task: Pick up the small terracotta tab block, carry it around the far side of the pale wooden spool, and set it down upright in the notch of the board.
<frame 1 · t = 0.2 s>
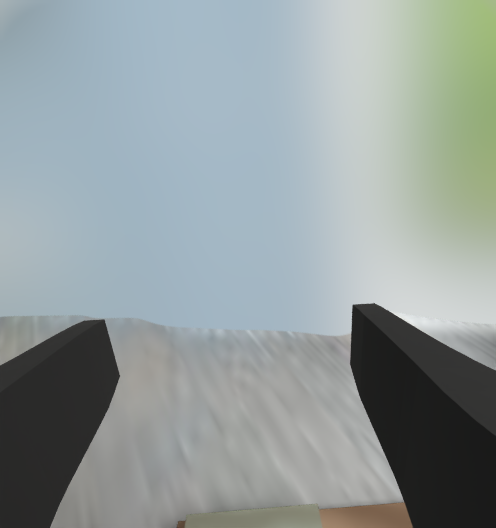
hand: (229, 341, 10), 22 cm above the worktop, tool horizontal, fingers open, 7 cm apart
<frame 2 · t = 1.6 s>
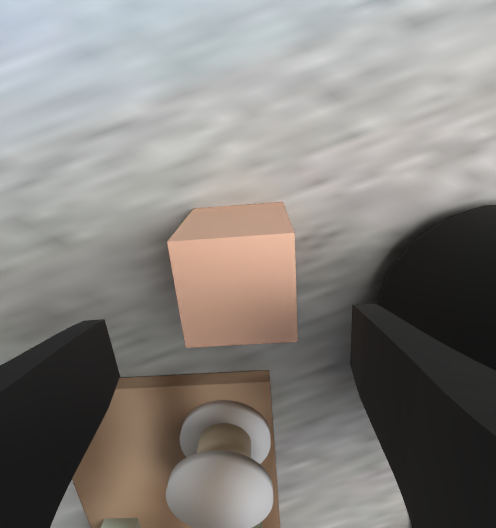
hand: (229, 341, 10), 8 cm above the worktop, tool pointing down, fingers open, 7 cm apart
coffee jar: (465, 293, 19), on the worktop
tab block: (241, 247, 18), on the worktop
notched board: (183, 495, 25), on the worktop
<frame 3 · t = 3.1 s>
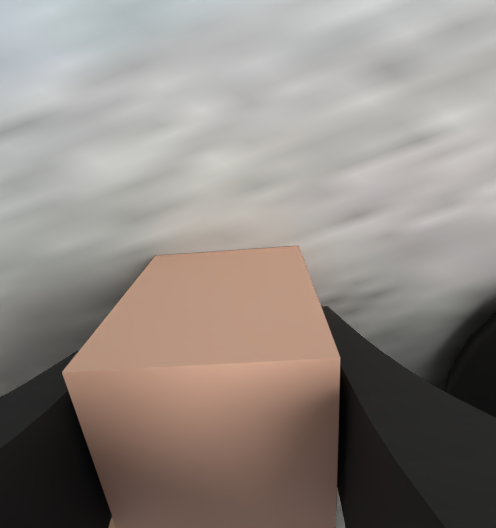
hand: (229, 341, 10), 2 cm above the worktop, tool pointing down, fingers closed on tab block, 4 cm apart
tab block: (233, 313, 11), on the worktop, touching gripper
when the fingers open (5 cm above the worktop, at t = 10.4 s): tab block drops 2 cm, resting on notched board.
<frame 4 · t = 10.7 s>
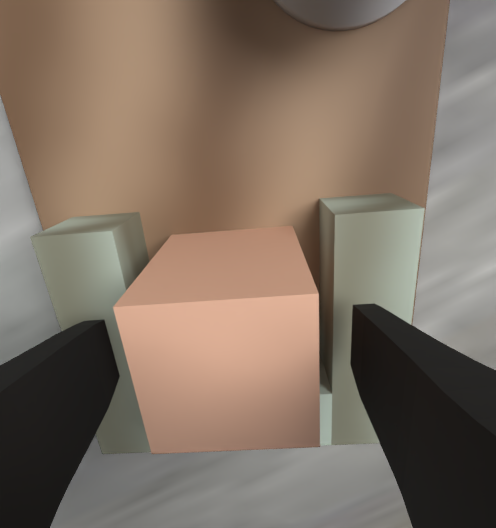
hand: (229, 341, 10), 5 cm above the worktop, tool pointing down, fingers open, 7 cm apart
tab block: (237, 285, 13), point 1 cm above the worktop, touching notched board
notched board: (228, 180, 13), on the worktop
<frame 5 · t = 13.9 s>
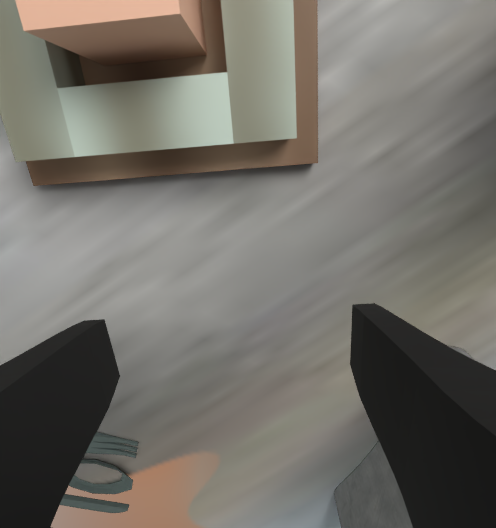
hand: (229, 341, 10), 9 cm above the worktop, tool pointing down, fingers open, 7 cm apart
hip flask: (400, 435, 24), on the worktop
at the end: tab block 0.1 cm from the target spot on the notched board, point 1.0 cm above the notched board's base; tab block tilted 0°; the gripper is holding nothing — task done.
